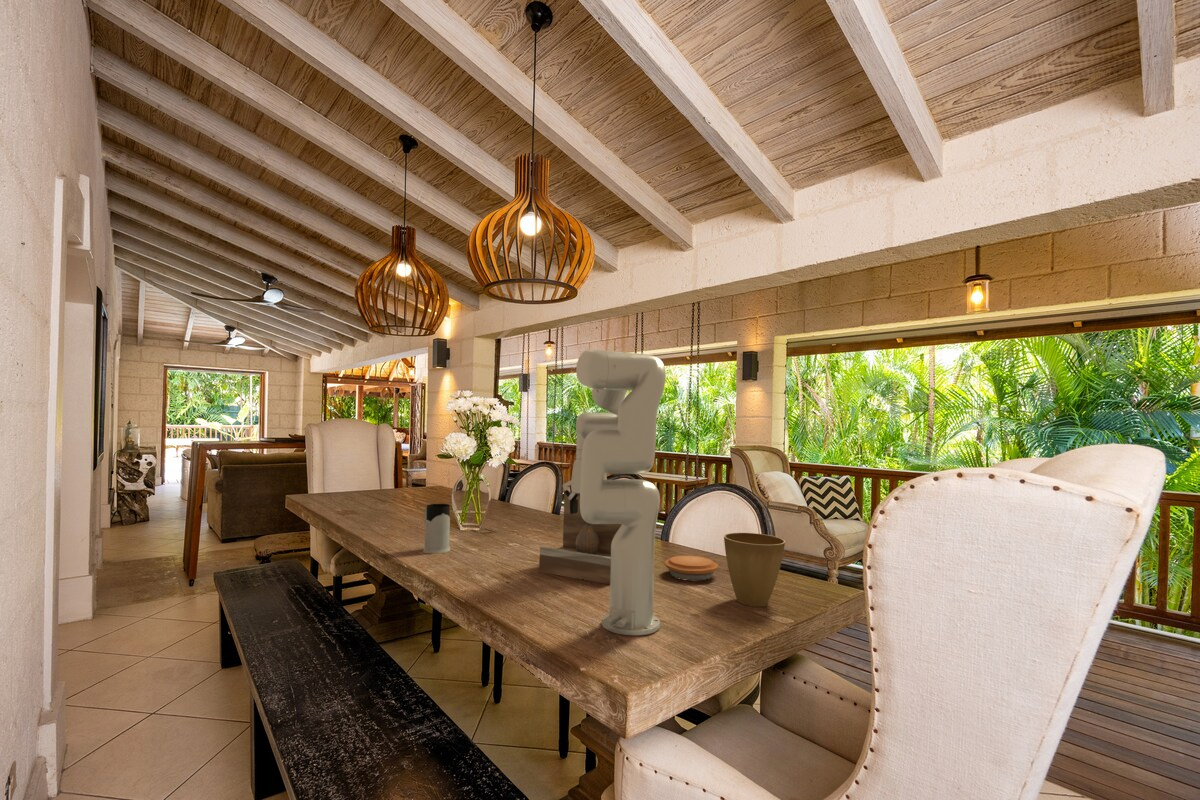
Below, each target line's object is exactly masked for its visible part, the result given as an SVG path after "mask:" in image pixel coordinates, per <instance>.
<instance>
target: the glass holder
mask: <svg viewBox="0 0 1200 800" xmlns="http://www.w3.org/2000/svg"><path fill="white" fill-rule="evenodd" d="M450 507H451V505H450V504H448V503H431V504H430V503H429V504H427V505H426V507H425V509H424V523H425V524H424V525H425V529H424V530H425V531H424V548H423V550H422V552H423V553H426V554H433V555H435V554H445V553H448V552H451V548H450V527H451V526H450V524H451V523H450V522H451V518H450V512H451V511H450V509H451V508H450Z"/></svg>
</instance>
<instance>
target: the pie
mask: <svg viewBox="0 0 1200 800" xmlns="http://www.w3.org/2000/svg"><path fill="white" fill-rule="evenodd" d="M664 565H665V567H666V568H667V569H668V572H669V573H670V576H672V577H673V576H674V577H676V578H675V579H677V578H680V579H687V580H705V581H707V580H706V579H708V580H710V579H711V578H712V576H713V575H714V573H715V572H716V570H717V569H718V568H719V564H718V563H716V562H714V561H713V560H712V559H710V558H707V557H702V556H700V555H699V556H697V555H677V556H676V555H675V556H672V557H670V558H668V559H666V560H665V561H664ZM674 577H673V578H674ZM709 578H710V579H709ZM680 579H679V580H680Z"/></svg>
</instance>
